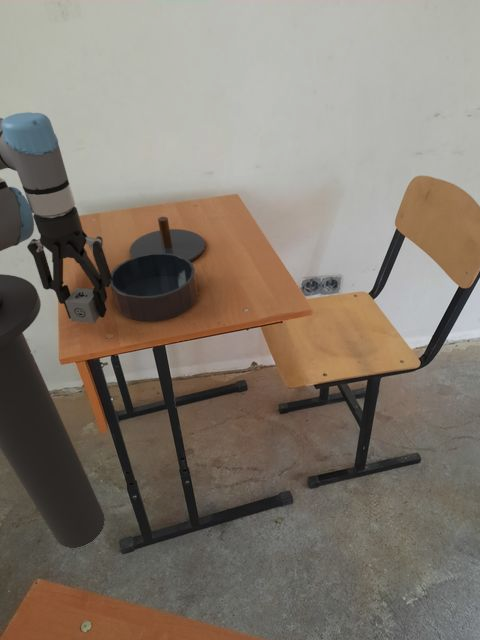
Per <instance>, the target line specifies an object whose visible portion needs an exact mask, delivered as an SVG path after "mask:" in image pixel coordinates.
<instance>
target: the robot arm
mask: <svg viewBox="0 0 480 640" xmlns="http://www.w3.org/2000/svg"><path fill="white" fill-rule="evenodd" d="M6 169H10V170H12V171H15V172H16V173H17V175H18V178H19V181H20V183H21V186H22V189H23V191H24V194H25V195H24V194H23V192H22V191H21V190H19V189H18V188H17V187H15V186H9V185H8V183H7V182H6V180H5V179H4V178H2V177H0V252H2V251H5V250H6V249H7V250H8V249H9V248H12V247H15V246H18V245H20V244H21V243H23V242H25V241H27V240H30V238H31V237H32V236H33V234H34V230H35V226H36V228H37V231H38V233H39V235H40V237H39V238H38V239H36V238H32V239H31V240H30V241H29V243H28V244H27V246H26V247H27V250H28V251H29V253H30V254H31V255H32V257H33V259H34V260H33V261H34V262H35V267H36V269H37V272H38V275H39V279H40V282H41V285H42V288H43V289H44V290H46V291H47V290H52V291H54V292H55V295H56V297H57V301H58V302H59V304H61V305H63V306H64V308H65V311H66V313H67V316H68V319H70V320H71V317H70V314H69V312H68V309H67V306H66V303H65V301H66V300H67V299H68V297H69V296H70V295H71V294H72V293H71V292H70V289H69V285H68V284H64V282H65V281H64V259H67V258H69V259H73V260H74V261H75V263H76V264H78V265H79V266H80V267H81V269H82V271H83V272H84V274H85V275H86V277H87V278H88V280H89V281H90V283H91V284H92V286H93V291H92V292H93V295H94V298H95V301H96V305H97V308H98V311H99V315H100V316H99V318H105V316H106V313H107V310H108V309H107V305H106V301H107V299H108V293H107V290H106V288H109V287H110V283H111V281H112V276H111V271H110V267H109V264H108V262H107V261H108V260H107V259H106V256H105V253H104V249H103V238H102V237H101V236H99V235H97V236H96V237H91V236H88V234H86V232H85V231H84V229H83V225H82V221H81V218H80V215H79V211H78V208H77V207H76V201H75V198H74V194H73V191H72V188H71V185H70V182H69V178H68V174H67V170H66V167H65V163H64V159H63V156H62V152H61V148H60V144H59V139H58V137H57V134H56V133H55V130H54V128H53V125H52V122H51V119H50V118H49V117H48V116H47V115H46V114H44V113H41V112H29V111H28V112H20V113H19V112H18V113H15V114H11V115H8V116H6V117H4V118H2V117H0V171H1V170H6ZM86 245H88V247H89V250H90V251H92V256H93V258H94V262H95V265H96V266H97V268H96V266H95V265H94V263H93V262H92V260H91V259H90V257H89V256H88V252H87V249H85V246H86ZM44 248H45V249H46V250H48V251H49V252H50V253H51V262H52V272H51V270H50V266H49V262H48V259H47V256H46V253H45V250H44ZM1 306H2V298H1V296H0V308H1Z"/></svg>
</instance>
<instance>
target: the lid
mask: <svg viewBox="0 0 480 640" xmlns="http://www.w3.org/2000/svg"><path fill="white" fill-rule="evenodd" d="M157 222H158V229H159V230H155V231H152V232H149V233H146V234H143V235H142V236H140V237H138V238H136V239H135V240H134V241H133V242H132V243H131V245H130V246H129V254H130V257H131V258H134V257H137V256H140V255H145V254H151V253H169V254H176V255H179V256H182V257H184V258H186V259H187V260H189V261H190V262H192V261H193V260H195V259H197V258H199V256H200V255H202V253H203V252H204V250H205V247H206V246H205V239H204V238H203V237H202V236H201V235H200V234H198V233H196V232H194V231H191V230H187V229H180V228H170V224H169V218H168V217H167V216H160V217H158V218H157Z"/></svg>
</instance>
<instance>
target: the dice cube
mask: <svg viewBox="0 0 480 640" xmlns="http://www.w3.org/2000/svg"><path fill="white" fill-rule="evenodd" d="M93 289H94V288H93ZM93 289H92V288H82V287H81V288H80V287H76V288H75V289H74V290H73V291H72V293H70V294H71V295H70V296H69V297H68V299H67V300H66V301H65V303H66V306H67V309H68V312H69V314H70V317H71V319H70V320H71V322H73V323H74V322H75V323H85V324H95V323H96V322H97V321H98V319H99V318H100V315H99V311H98V308H97V305H96V301H95V298H94V295H93V292H92V291H93Z"/></svg>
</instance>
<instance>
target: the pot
mask: <svg viewBox="0 0 480 640" xmlns="http://www.w3.org/2000/svg"><path fill="white" fill-rule="evenodd" d="M110 273H111V276H112V281H111V283H110V286H109V287H110V290H111V294H112V297H113V301H114V305H115V308H116V310H117V311H118V312H119V313H120V314H121V315H122V316H123V317H125V318H127V319H129V320H131V321H132V320H133V321H136V322H145V323H147V322H149V323H151V322H152V323H153V322H162V321H166V320H170V319H173V318H175V317H178V316H180V315H182V314H184V313H185V312H188V310H189V309H191V308H192V307H193V306H194V305H195V303H196V301H197V299H198V291H199V289H198V282H197V273H196V268H195V266H194V264H193V262H192V261H189V260H187V259H186V258H184V257H182V256H179V255H176V254H169V253H151V254H145V255H140V256H137V257H134V258H132V257H131V258H129V259H126V260H124V261H123V262H121V263H120V264H118V265H117V266H116V267H115V268H114V269H112V271H110Z"/></svg>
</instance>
